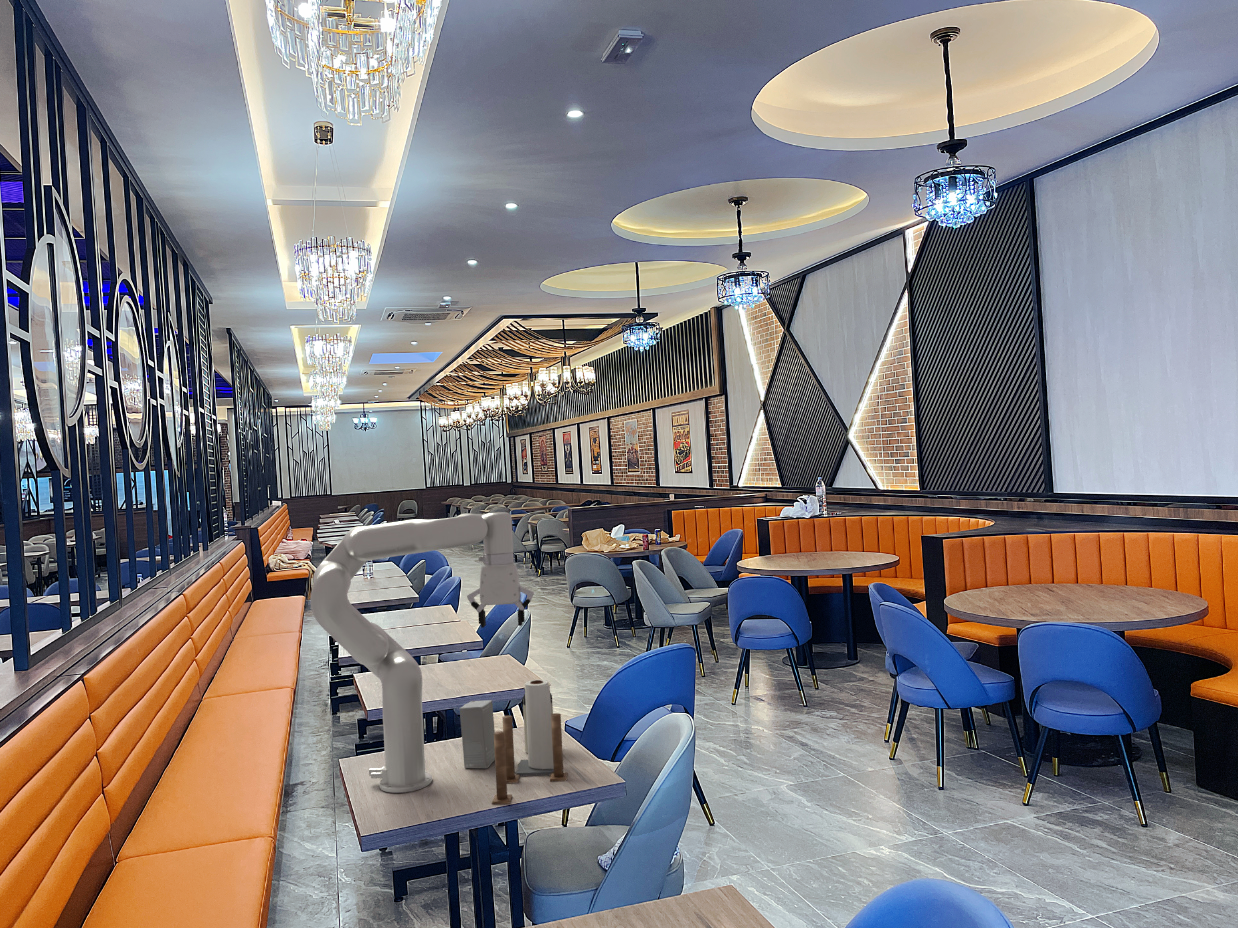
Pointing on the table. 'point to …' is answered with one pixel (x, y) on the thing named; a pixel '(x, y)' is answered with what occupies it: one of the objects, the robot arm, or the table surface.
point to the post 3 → (557, 749)
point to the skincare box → (477, 734)
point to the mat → (531, 770)
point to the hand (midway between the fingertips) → (501, 625)
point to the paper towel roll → (539, 724)
